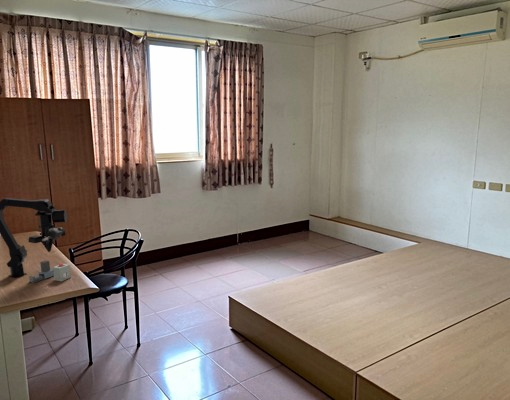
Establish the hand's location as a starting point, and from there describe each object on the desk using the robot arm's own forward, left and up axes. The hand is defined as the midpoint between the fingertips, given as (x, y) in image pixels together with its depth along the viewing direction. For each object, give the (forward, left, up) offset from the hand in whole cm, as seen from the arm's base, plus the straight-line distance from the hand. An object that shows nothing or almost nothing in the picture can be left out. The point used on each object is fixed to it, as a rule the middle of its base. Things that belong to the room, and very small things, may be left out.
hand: (49, 251), depth 232 cm
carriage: (+3, -5, -12) cm, 13 cm away
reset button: (+13, -4, -8) cm, 16 cm away
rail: (+3, -7, -12) cm, 14 cm away
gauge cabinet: (+13, -4, -12) cm, 18 cm away
